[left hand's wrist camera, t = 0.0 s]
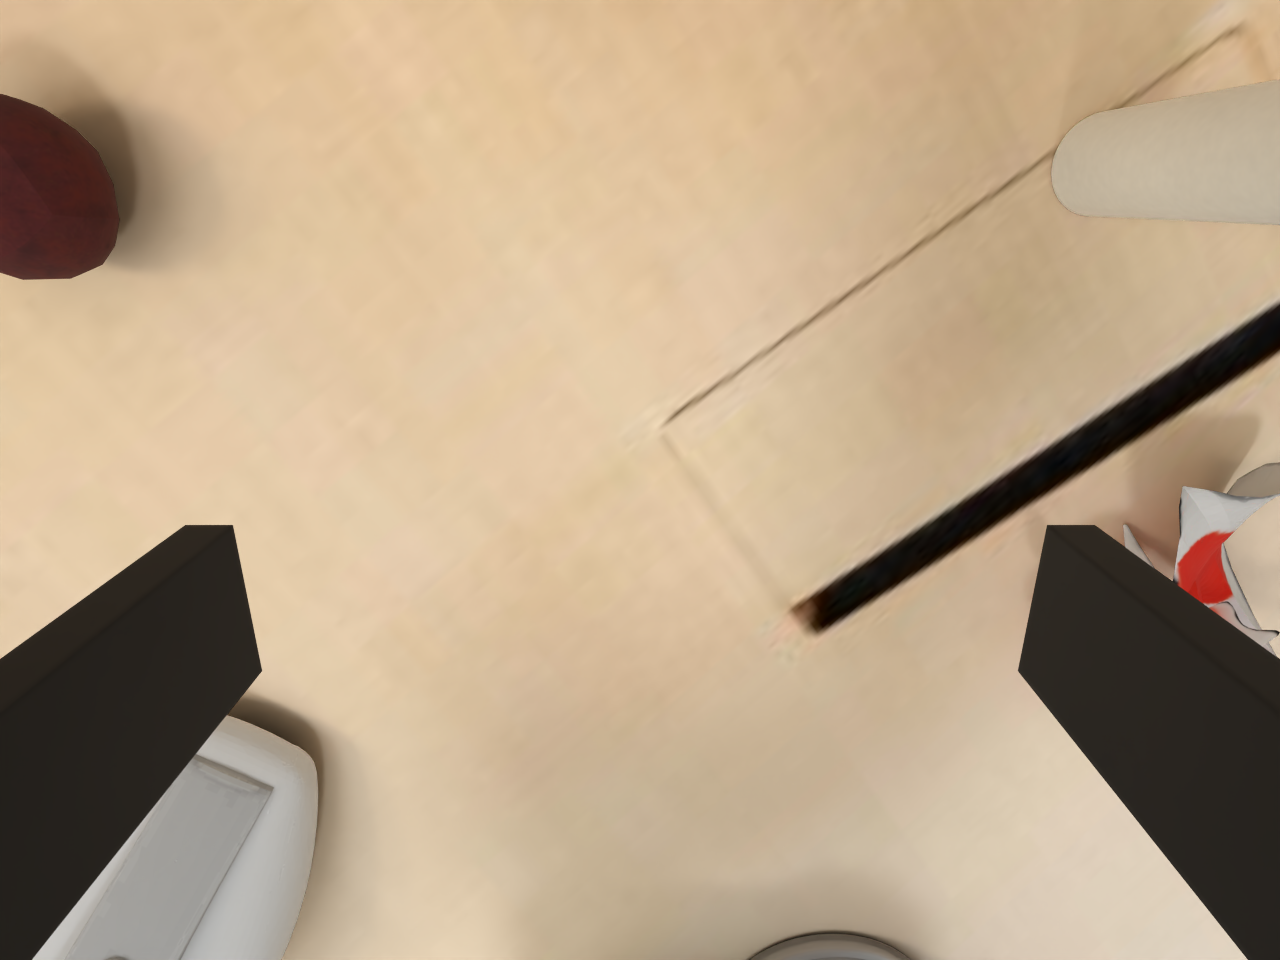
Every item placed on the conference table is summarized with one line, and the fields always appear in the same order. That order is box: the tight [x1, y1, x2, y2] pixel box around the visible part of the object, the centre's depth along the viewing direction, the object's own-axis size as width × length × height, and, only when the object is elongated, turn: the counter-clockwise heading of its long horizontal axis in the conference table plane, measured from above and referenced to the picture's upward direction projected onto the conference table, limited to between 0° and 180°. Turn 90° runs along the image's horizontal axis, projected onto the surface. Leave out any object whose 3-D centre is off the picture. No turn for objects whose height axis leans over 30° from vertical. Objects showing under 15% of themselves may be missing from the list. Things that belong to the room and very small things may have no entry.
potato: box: [0, 94, 119, 280], centre depth 33 cm, size 7×8×7 cm
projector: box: [32, 715, 318, 960], centre depth 44 cm, size 22×23×15 cm
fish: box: [1123, 463, 1280, 657], centre depth 39 cm, size 11×16×10 cm
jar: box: [1051, 79, 1280, 225], centre depth 28 cm, size 5×5×17 cm
